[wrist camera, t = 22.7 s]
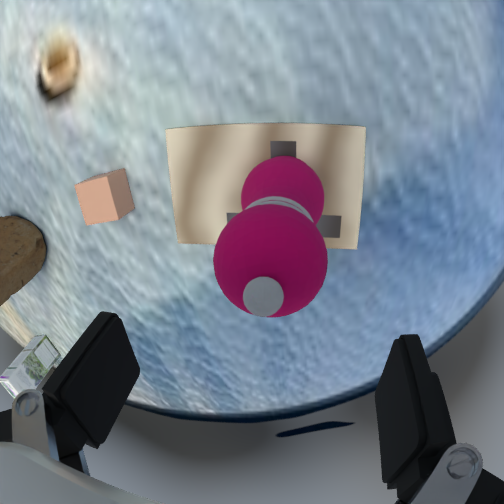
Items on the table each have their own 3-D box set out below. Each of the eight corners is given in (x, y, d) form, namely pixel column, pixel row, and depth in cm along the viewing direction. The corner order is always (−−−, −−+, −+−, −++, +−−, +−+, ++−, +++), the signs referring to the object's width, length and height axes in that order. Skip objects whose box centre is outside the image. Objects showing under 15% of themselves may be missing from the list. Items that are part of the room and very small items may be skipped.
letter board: (363, 126, 27) (365, 127, 26) (355, 246, 33) (356, 249, 32) (168, 128, 30) (165, 129, 29) (180, 240, 36) (178, 243, 35)
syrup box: (33, 336, 52) (-4, 379, 39) (46, 333, 50) (6, 381, 38) (48, 356, 54) (14, 400, 41) (62, 355, 52) (26, 403, 40)
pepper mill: (322, 218, 31) (342, 366, 14) (253, 221, 33) (196, 363, 15) (319, 148, 28) (352, 222, 10) (245, 153, 29) (160, 231, 12)
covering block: (125, 167, 33) (106, 176, 29) (135, 207, 35) (118, 219, 31) (93, 176, 34) (74, 185, 30) (103, 213, 36) (86, 225, 32)
